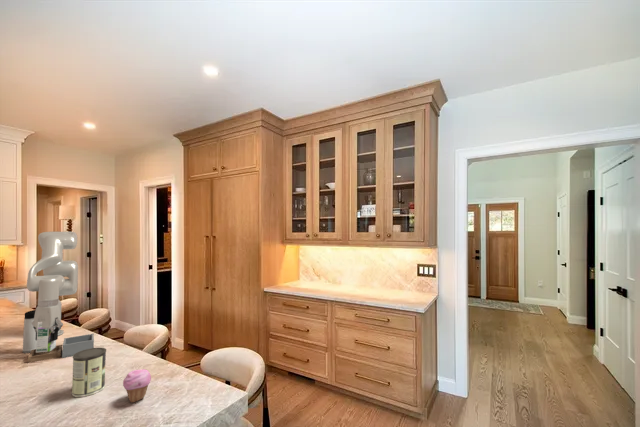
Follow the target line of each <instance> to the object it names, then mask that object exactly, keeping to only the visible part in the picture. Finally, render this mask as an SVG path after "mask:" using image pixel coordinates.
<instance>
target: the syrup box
mask: <svg viewBox="0 0 640 427" xmlns="http://www.w3.org/2000/svg"><path fill="white" fill-rule="evenodd" d="M54 329H55V327H54ZM51 333H52V332H51V328H48V329H47V328H42V322H38V325H37V344H36V353H38V352H49V353H51V352H50V351H51V350H53V349H54V348H55V347H56V346H57V340H55V341H52V342H51V341H50V334H51Z"/></svg>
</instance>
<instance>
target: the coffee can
mask: <svg viewBox="0 0 640 427" xmlns="http://www.w3.org/2000/svg"><path fill="white" fill-rule="evenodd" d="M106 352H107V349H106V348H105V347H94V348H90V349H86V350H82V351H79V352H77V353H75V354H74V355H73V356H72V380H71V383H72V386H71V395H72V397H74V398H81V397H82V398H83V397H88V396H92V395H94V394H97V393H99V392H100V391H103V390H104V388H105V387H106V357H107V356H106V355H107V354H106Z"/></svg>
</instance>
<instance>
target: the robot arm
mask: <svg viewBox="0 0 640 427" xmlns="http://www.w3.org/2000/svg"><path fill="white" fill-rule="evenodd" d="M37 237H38V238H37V239H38V240H37V241H38V243H39V246H40V248H41V250H42V251H41V259H39V260H38V261H36V262H35V263H34V264H33V265H32V266H31V267H30V269H29V270H28V273H27V279H26V289H27V290H28V291H29V292H36V293H37V292H38V299H37V300H38V301H37V306H36V308H35V310H36V311H35V316H34V321H33V322H32V325H33V328H34V329H35V332H36V339H35V340H37V325H38V322H42V328H47V329H48V328H51V332H52V333H51V334H50V341H51V342H52V341H55V340H56V341H57V340H58V339H59V338H58V337H60V335H63V334H64V331H65V330H63V329H62V327H63V326H64V323H63V322H62V301H61V300H60V299H59V298H60V297H61V296H70V295H71V296H72V295H75V294H76V293H77V292H78V285H79V265H78V262H77V261H75V260H64V259H63V258H64V257H63V256H64V253H63V251H64V250H74V249H76V248H77V246H78V235H77V233H76V232H75V231H43V232H41V233H39V234H38V236H37ZM41 271H42V272H43V273H42V274H43V275H37V274H38V273H39V272H41ZM65 277H66V278H65ZM59 296H60V297H59ZM54 327H55V329H54Z"/></svg>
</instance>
